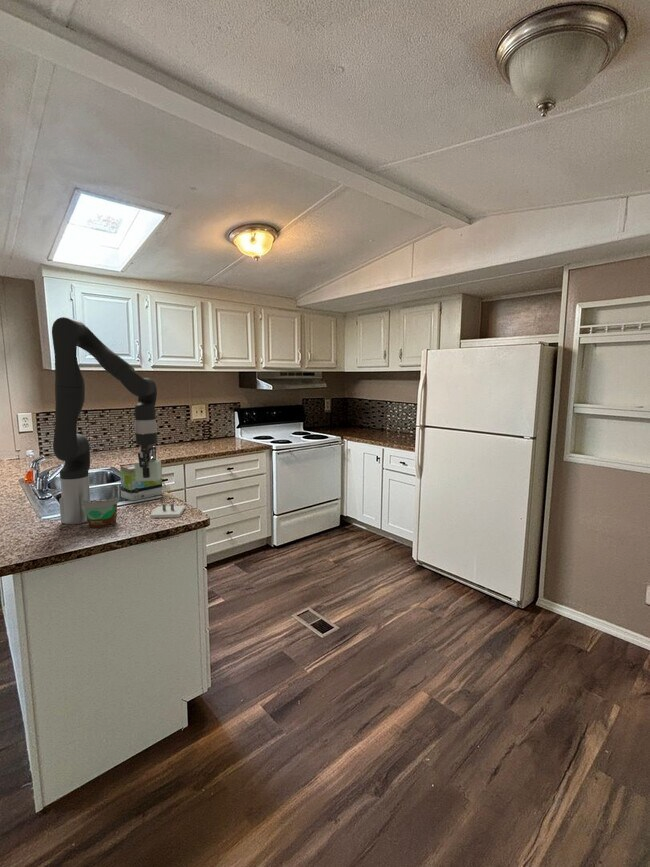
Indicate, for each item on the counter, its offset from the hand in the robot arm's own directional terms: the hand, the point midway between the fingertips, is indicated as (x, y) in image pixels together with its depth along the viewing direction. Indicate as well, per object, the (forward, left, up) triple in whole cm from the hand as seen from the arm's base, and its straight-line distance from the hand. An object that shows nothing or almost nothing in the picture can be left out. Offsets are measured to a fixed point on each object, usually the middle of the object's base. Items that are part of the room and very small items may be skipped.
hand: (148, 475), depth 156 cm
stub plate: (+4, +8, -18) cm, 20 cm away
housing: (0, 0, -1) cm, 1 cm away
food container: (-17, -5, -18) cm, 25 cm away
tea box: (-14, +34, -18) cm, 41 cm away
